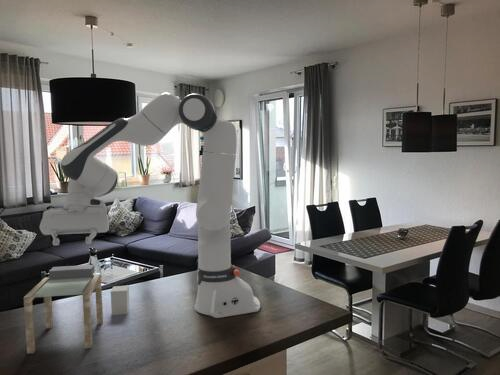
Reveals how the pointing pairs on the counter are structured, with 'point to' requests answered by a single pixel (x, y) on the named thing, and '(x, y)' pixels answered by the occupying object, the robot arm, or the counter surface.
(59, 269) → the trapdoor
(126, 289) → the stone
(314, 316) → the counter surface
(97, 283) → the frame
